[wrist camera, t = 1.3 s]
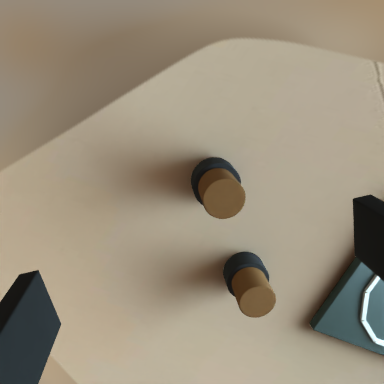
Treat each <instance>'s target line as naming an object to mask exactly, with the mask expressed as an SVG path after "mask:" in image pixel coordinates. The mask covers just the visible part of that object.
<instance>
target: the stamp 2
mask: <svg viewBox="0 0 384 384" xmlns="http://www.w3.org/2000/svg"><path fill="white" fill-rule="evenodd" d="M223 275H224V279H225V281H226V284H227V287H228V290H229V292H230V293H231V294H232V295H233V296H235V297H236V300H237V302H238V305H239V308H240V310H241V312H242V313H243V314H245V315H246V316H249V317H261V316H264V315H266V314H268V313H269V312H270V311H271V310H272V309H273V307H274V305H275V302H276V297H275V294H274V292H273V290H272V288H271V286H270V284H269V274H268V272H267V270H266V268H265V266H264V265H263V263H262V261H261V259H260V258H259V257H258V256H257V255H255V254H253V253H249V252H241V253H237V254H235V255H233V256H232V257H230V258H229V259H228V260H227V262H226V263H225V265H224V269H223Z"/></svg>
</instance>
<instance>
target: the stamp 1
mask: <svg viewBox="0 0 384 384" xmlns="http://www.w3.org/2000/svg"><path fill="white" fill-rule="evenodd" d="M191 185H192V189H193V192H194V195H195V197H196V199H197V200H198V201H199V202H200V203H201V204H202V205H203V206H204V208H205V210H206V211H207V212H208V213H209V214H210V215H211V216H213V217H215V218H219V219H226V218H230V217H233V216H235V215H236V214H237V213H238V212H240V210H241V209H242V207H243V206H244V203H245V191H244V189H243V187H242V186H241V180H240V177H239V175H238V173H237V171H236V170H235V169H234V168H233V167H232V165H231V164H230V163H229V162H227V161H226V160H224V159H221V158H208V159H205V160H203V161H201V162H200V163H199V164H198V165H197V166H196V167H195V169H194V170H193V172H192V176H191Z"/></svg>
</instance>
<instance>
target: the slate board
mask: <svg viewBox="0 0 384 384" xmlns="http://www.w3.org/2000/svg"><path fill="white" fill-rule="evenodd" d="M310 325H311V327H312V328H313V330H315V331H318V332H321V333H324V334H326V335H329V336H332V337H335V338H337V339H340V340H343V341H346V342H348V343H351V344H354V345H357V346H359V347H362V348H365V349H368V350H370V351H373V352H376V353H379V354H381V355H384V281H382V280H381V279H380V278H379V277H378V276H377V275H376V274H375V273H374V272H372V271H371V270H370V269H369V268H368V267H367V266H366V265H365V264H363V263H362V262H361V261H360V260H359V259H358V258H357V257H355V259H354V260H353V262H352V263H351V265H350V266H349V267H348V269H347V270H346V272H345V273H344V275H343V276H342V277H341V279H340V280H339V282H338V283H337V285H336V286H335V287H334V289H333V290H332V292H331V293H330V295H329V296H328V297H327V299H326V300H325V302H324V303H323V305H322V306H321V307H320V309H319V310H318V312H317V313H316V315H315V316H314V317H313V319H312V320H311V322H310Z"/></svg>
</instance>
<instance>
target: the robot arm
mask: <svg viewBox="0 0 384 384" xmlns="http://www.w3.org/2000/svg"><path fill="white" fill-rule="evenodd" d="M353 216H354V248H355V256H356V257H357V258H358V259H359V260H360V261H361V262H362V263H363V264H365V265H366V266H367V267H368V268H369V269H370V270H371V271H372V272H374V273H375V274H376V275H377V276H378V277H379V278H380V279H381V280H382V281H384V202H383V201H382V200H380V199H378V198H376V197H374V196H372V195H367V196H362V197H358V198H354V199H353ZM60 326H61V322H60V320H59V318H58V315H57V313H56V311H55V308H54V306H53V303H52V301H51V299H50V296H49V294H48V292H47V289H46V287H45V284H44V282H43V280H42V277H41V275H40V273H39V270H37V271H33V272H28V273H24V274H20V275H19V276H18V277H17V279H16V280H15V282H14V283H13V285H12V286H11V287H10V289H9V290H8V292H7V293H6V295H5V296H4V298H3V299H2V300H1V302H0V384H38V383H39V380H40V378H41V375H42V372H43V370H44V367H45V365H46V362H47V359H48V357H49V354H50V352H51V349H52V346H53V344H54V341H55V339H56V336H57V333H58V331H59V328H60Z"/></svg>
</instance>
